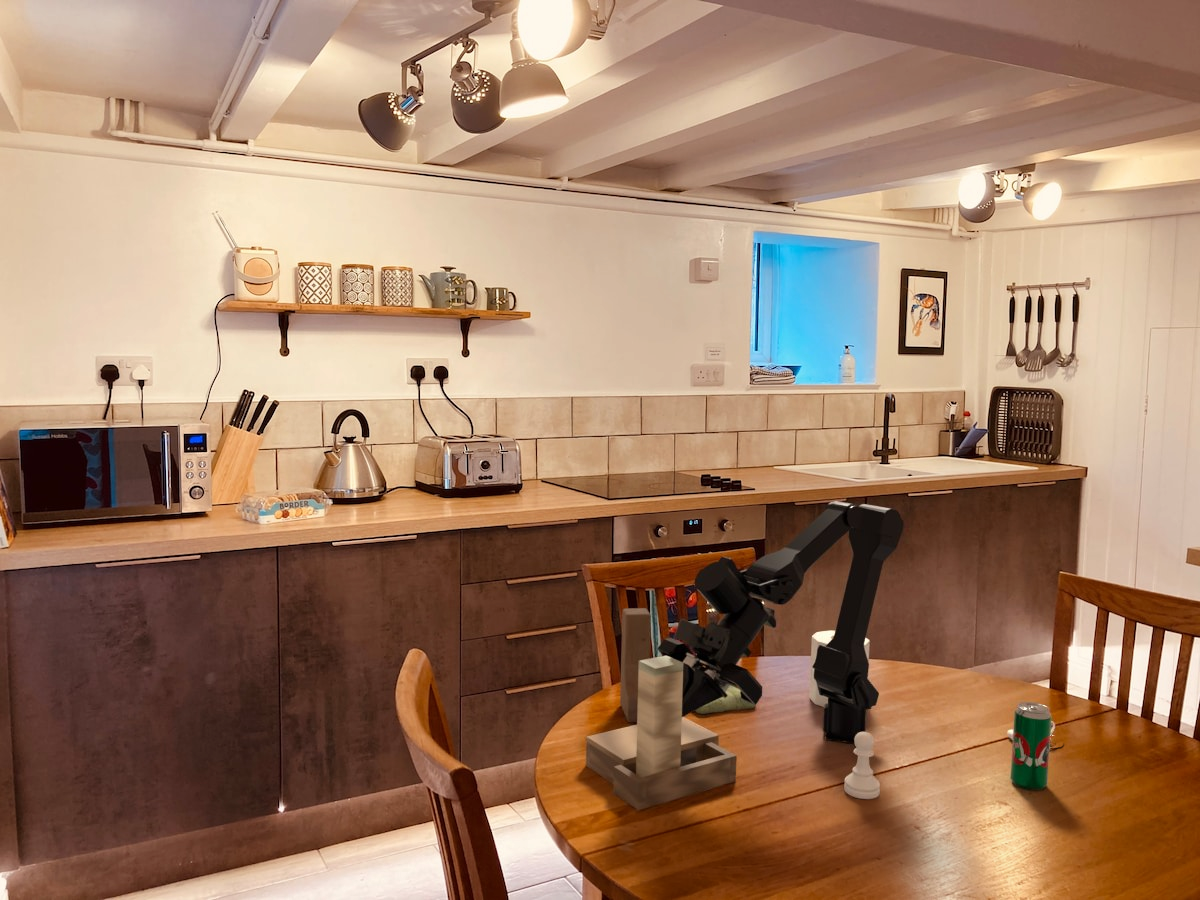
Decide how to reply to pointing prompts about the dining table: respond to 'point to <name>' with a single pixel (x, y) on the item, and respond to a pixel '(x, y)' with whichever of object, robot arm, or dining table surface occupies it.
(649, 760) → the tall beige rectangular block
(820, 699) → the toilet paper
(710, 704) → the washcloth
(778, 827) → the dining table surface
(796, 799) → the dining table surface
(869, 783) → the chess pawn
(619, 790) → the box with sliding lid
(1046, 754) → the soda can
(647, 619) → the wooden block
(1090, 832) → the dining table surface
